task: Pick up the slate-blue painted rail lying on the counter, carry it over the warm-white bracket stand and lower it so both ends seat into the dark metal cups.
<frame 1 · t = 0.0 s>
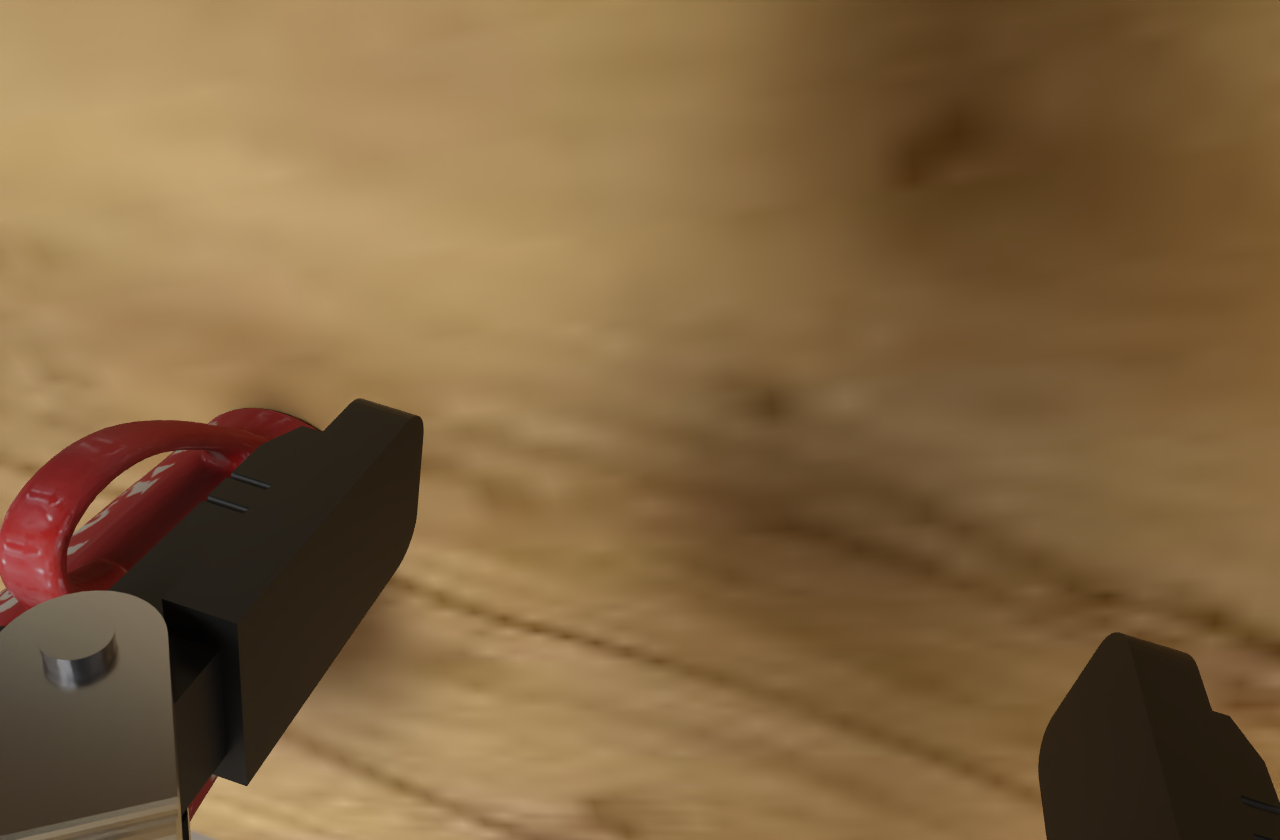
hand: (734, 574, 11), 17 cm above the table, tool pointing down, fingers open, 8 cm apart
mug: (290, 448, 36), on the table
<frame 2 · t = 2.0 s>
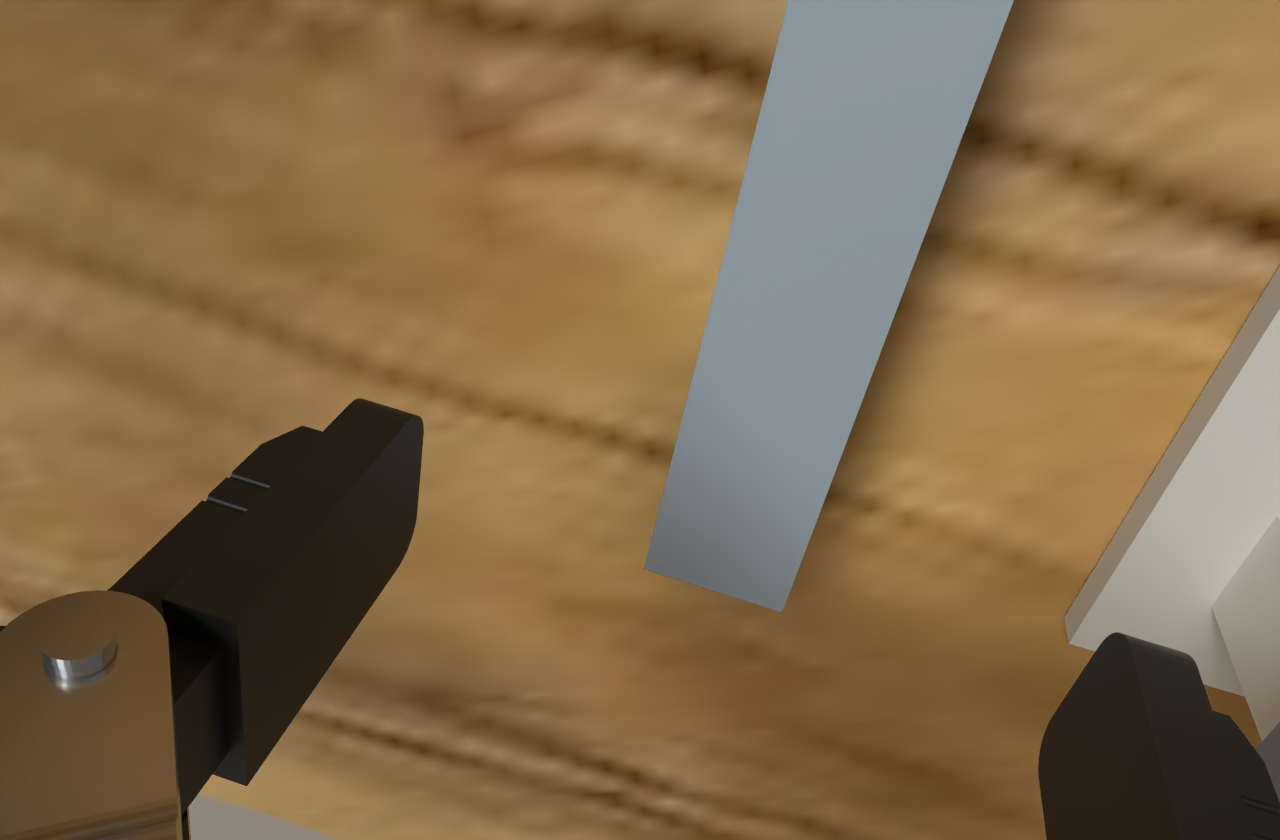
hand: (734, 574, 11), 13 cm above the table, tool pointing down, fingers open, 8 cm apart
rail: (834, 182, 22), on the table
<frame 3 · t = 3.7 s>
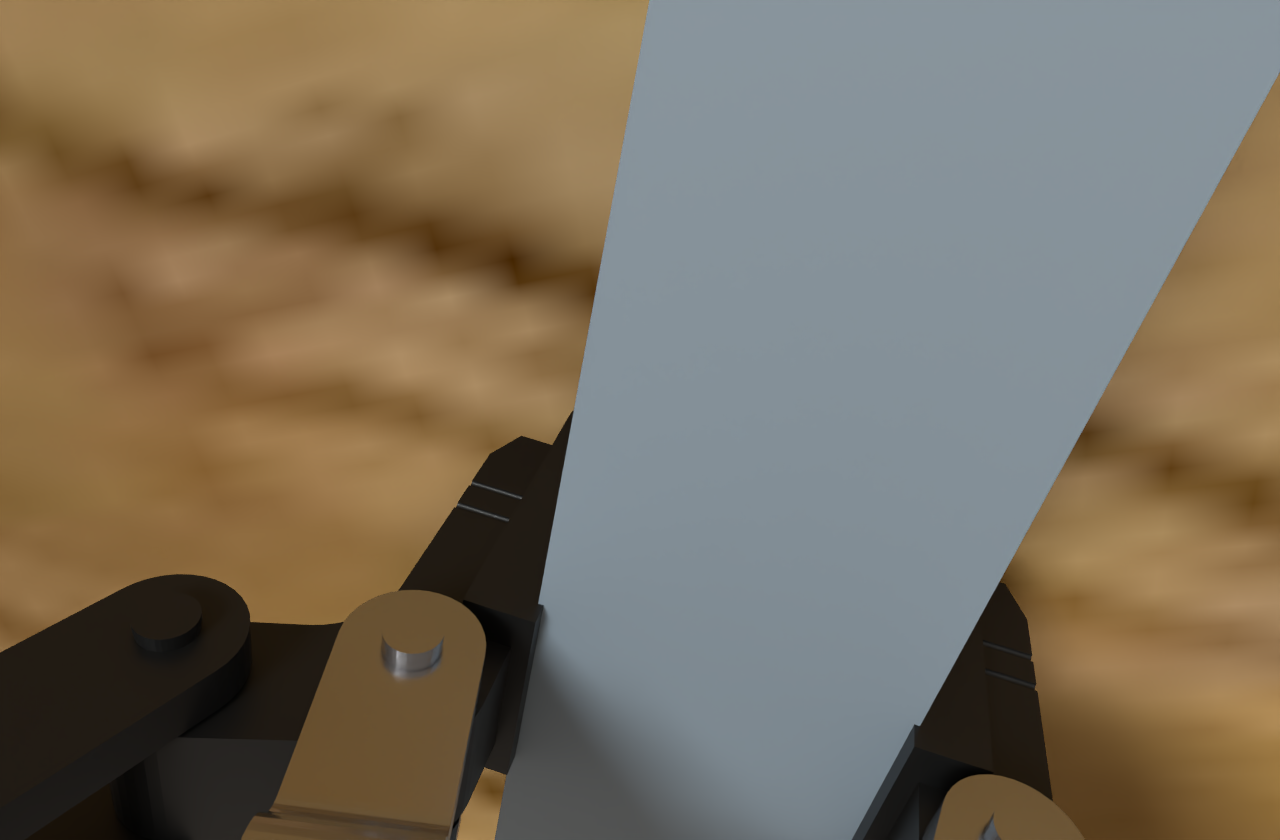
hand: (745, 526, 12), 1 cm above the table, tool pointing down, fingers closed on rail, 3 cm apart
rail: (760, 474, 13), on the table, touching gripper
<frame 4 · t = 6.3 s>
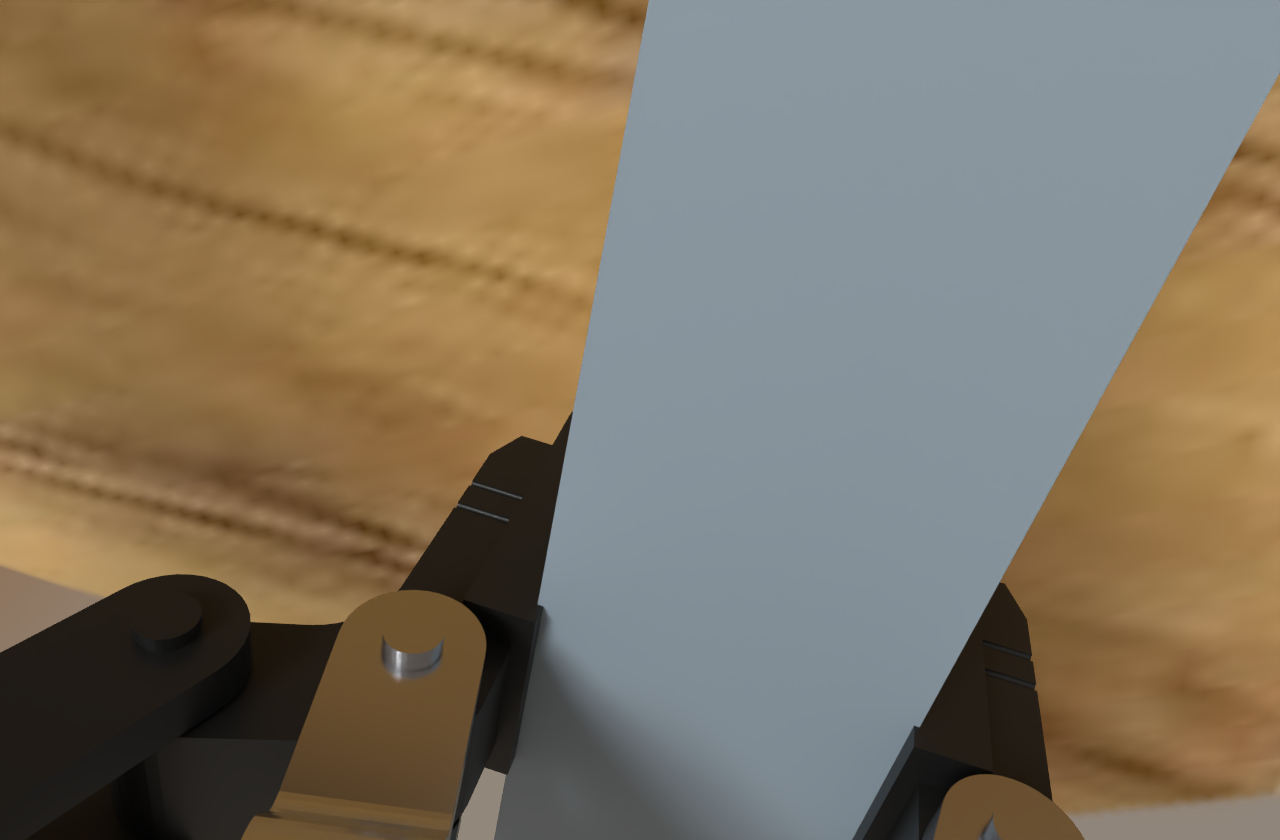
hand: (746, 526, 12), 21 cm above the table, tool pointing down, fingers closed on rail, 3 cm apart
rail: (758, 480, 13), point 20 cm above the table, touching gripper
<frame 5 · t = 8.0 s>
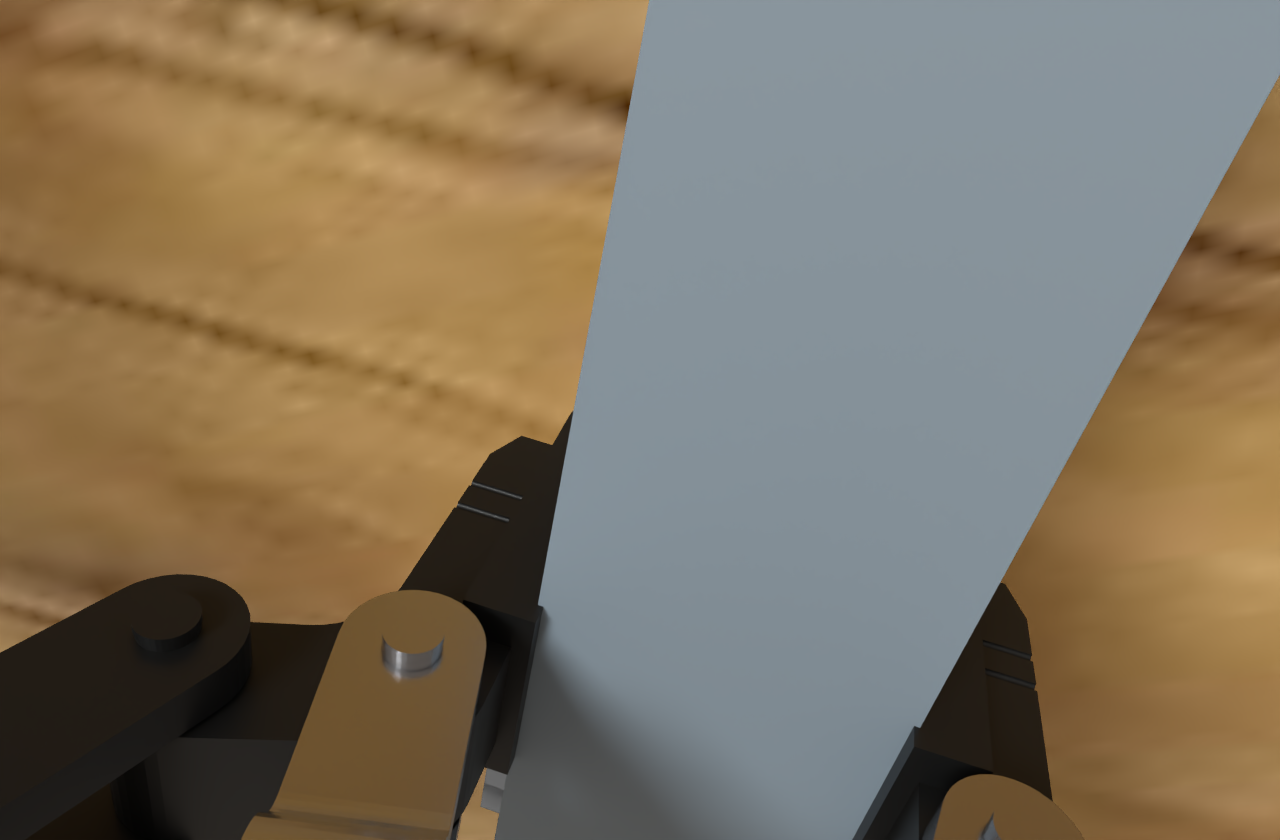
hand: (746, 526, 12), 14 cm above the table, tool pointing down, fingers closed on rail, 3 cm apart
rail: (758, 480, 13), point 13 cm above the table, touching gripper
stand: (831, 182, 23), on the table
when the fingers open (10 cm above the table, at t = 9.2 s): rail drops 1 cm, resting on stand.
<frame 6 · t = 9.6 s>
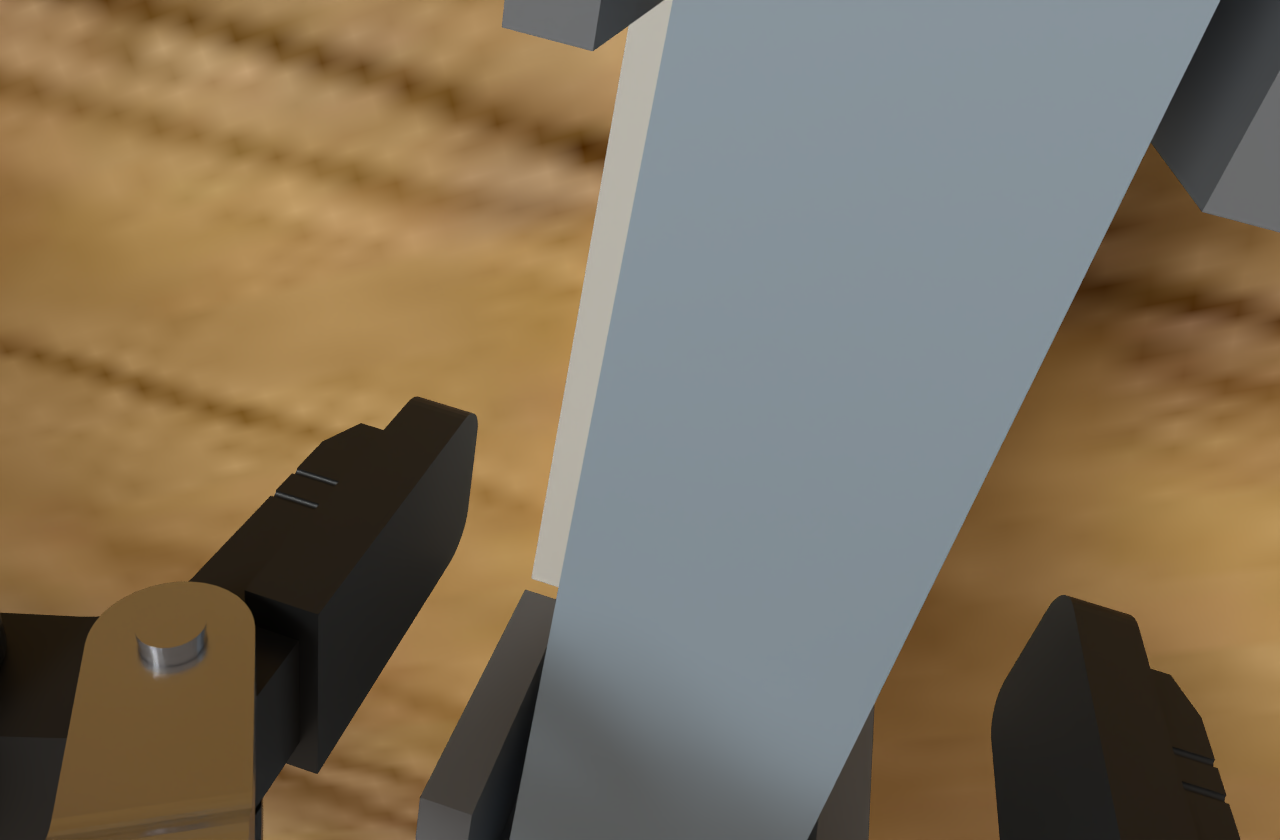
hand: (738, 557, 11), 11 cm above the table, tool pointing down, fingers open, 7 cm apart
rail: (766, 428, 14), point 8 cm above the table, touching stand
stand: (815, 235, 20), on the table
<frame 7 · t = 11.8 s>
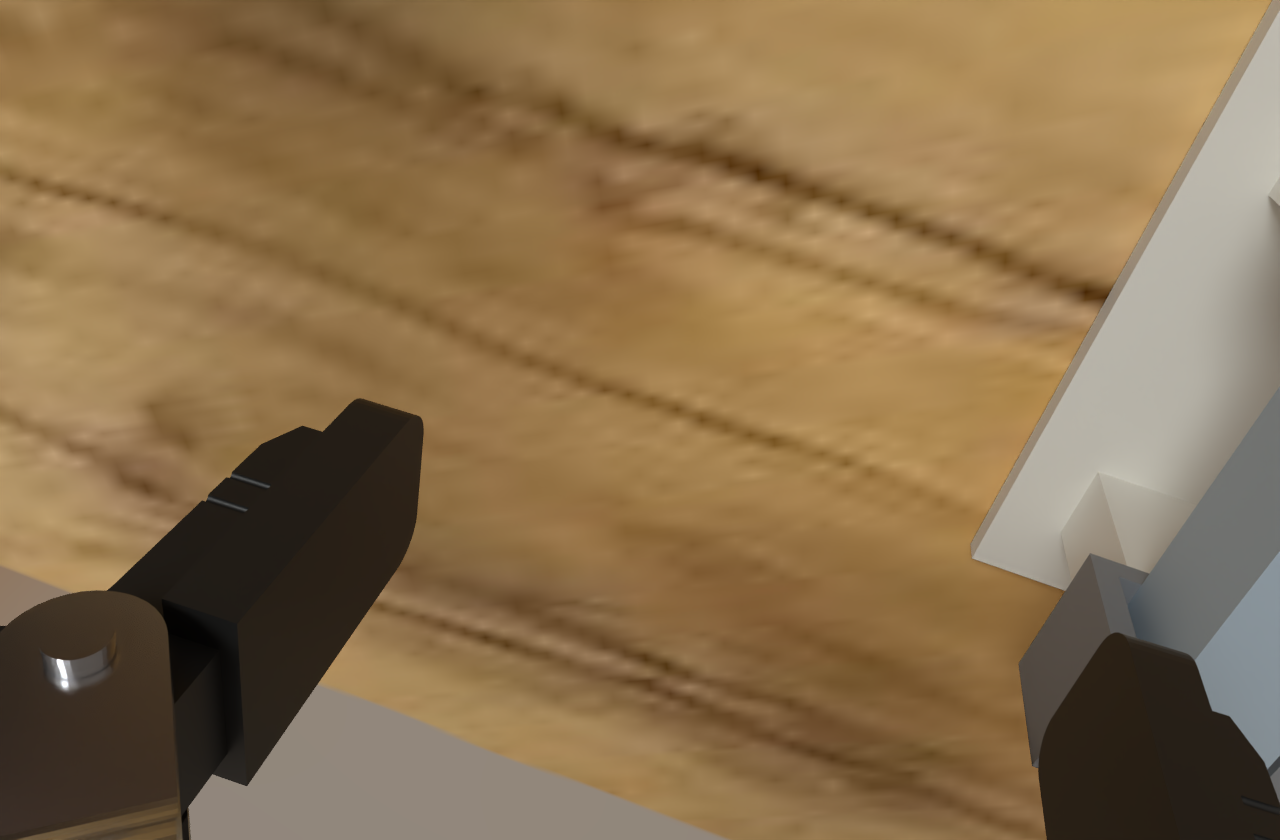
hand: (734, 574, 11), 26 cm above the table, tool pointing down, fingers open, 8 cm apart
stand: (1225, 352, 34), on the table
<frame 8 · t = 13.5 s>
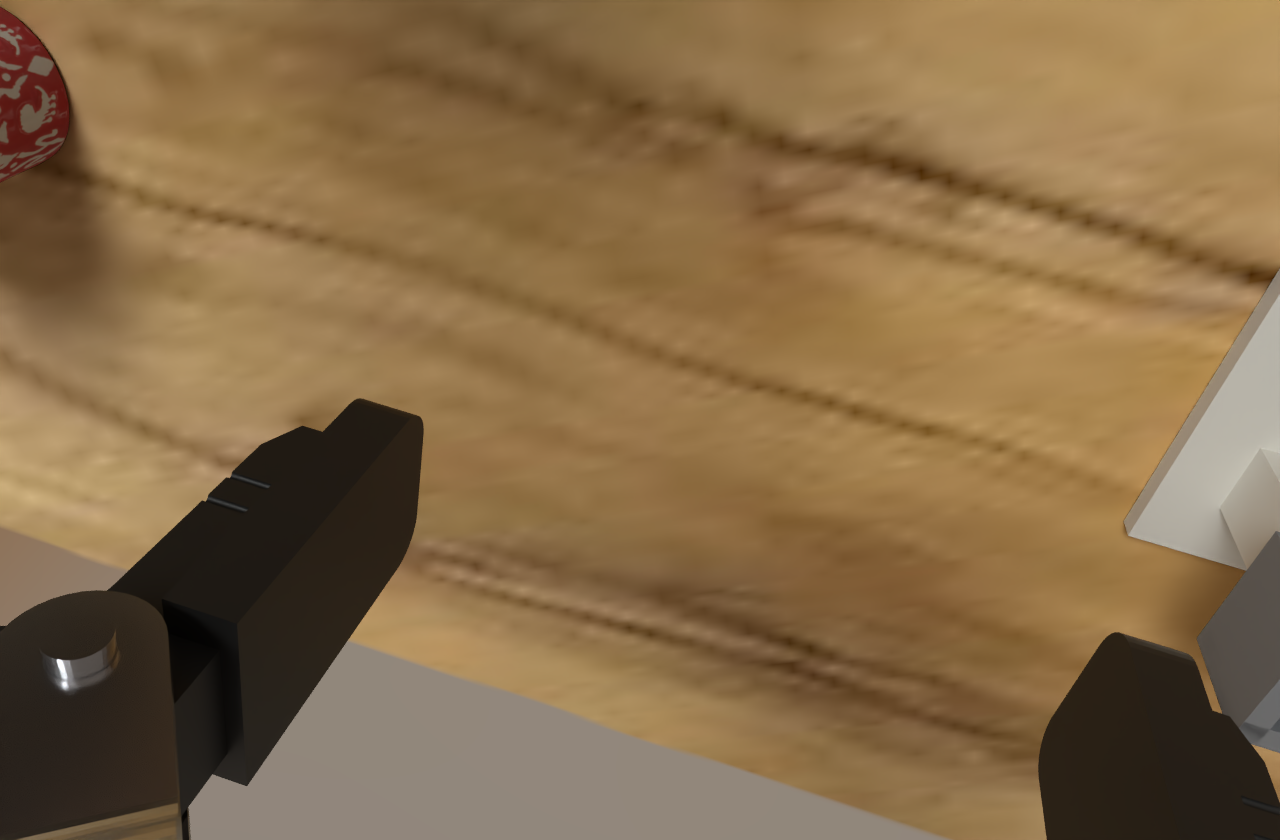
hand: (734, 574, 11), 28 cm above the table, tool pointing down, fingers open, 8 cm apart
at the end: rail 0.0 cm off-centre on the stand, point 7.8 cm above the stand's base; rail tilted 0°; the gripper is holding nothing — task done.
